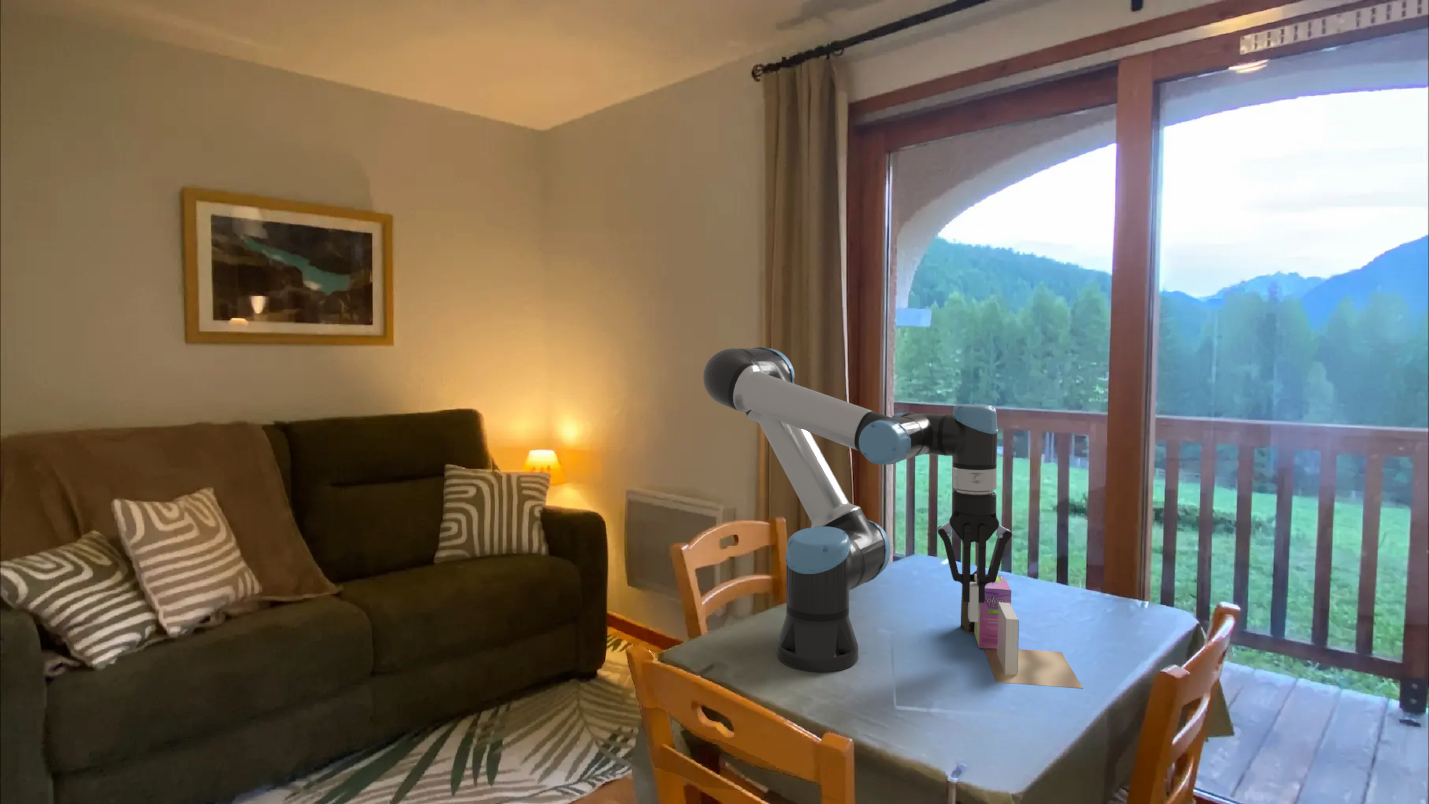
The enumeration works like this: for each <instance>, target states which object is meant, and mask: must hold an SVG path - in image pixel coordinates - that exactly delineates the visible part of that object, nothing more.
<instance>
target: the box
mask: <svg viewBox="0 0 1429 804" xmlns="http://www.w3.org/2000/svg"><path fill="white" fill-rule="evenodd" d="M985 575H986V574H985ZM974 580H975V582H977V574H974ZM998 602H1003V603H1010V604H1011V605H1012V590H1011V588H1010V586H1009V584H1008V581H1007V580H1006V578H1005V576H1004V575H1000V574H997V578H996V581H995V582H994V583H988V584H986V586H985V601H984V603H978V622H975V625H974V636H975V640H976V643H977V646H978V648H979V649H994V650H997V645H998Z"/></svg>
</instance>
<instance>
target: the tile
mask: <svg viewBox="0 0 1429 804" xmlns="http://www.w3.org/2000/svg"><path fill="white" fill-rule="evenodd" d="M1019 626H1020V621H1019V618H1018V617H1017V614H1016V611H1015V609H1013V607H1012V603H1011V604H1010V603H1003V602H998V645H997V655H998V658H999V660H1000V663H1001V665H1002V668H1003V670H1004V673H1005V674H1006V675H1017V673H1018V649H1019V637H1020V636H1019V634H1020V627H1019Z"/></svg>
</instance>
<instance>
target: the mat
mask: <svg viewBox="0 0 1429 804" xmlns="http://www.w3.org/2000/svg"><path fill="white" fill-rule="evenodd" d="M984 653H985V655H986V657H987V658H986V659H987V661H988V663H989V667H990V669H991V672H992V675H993V677H994V680H995V683H1001V684H1016V685H1017V684H1018V685H1028V686H1043V687H1056V688H1071V689H1084V687H1083V685H1082V684H1081V682H1080V680H1079V679H1078V677H1077V675H1076V673H1075V672H1074V670H1073V669H1072V667H1071V665H1070V664H1069V662H1068V660H1067V658H1066V657H1065V655H1064V654H1063V652H1062V651H1052V650H1051V651H1050V650H1038V649H1036V650H1035V649H1023V648H1021V649H1020V648H1018V673H1017V675H1006V674H1005V673H1004V670H1003V668H1002V665H1001V663H1000V660H999V658H998V655H997V650H994V649H984Z"/></svg>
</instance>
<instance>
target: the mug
mask: <svg viewBox="0 0 1429 804" xmlns="http://www.w3.org/2000/svg"><path fill="white" fill-rule="evenodd" d="M986 573H987V572H986V570H985V574H986ZM974 574H977V569H976V570H975V571H974V572H973V573H970V582H975V580H974ZM960 602H961V604H960V608H961V609H960V629H961V630H962V631H963V632H965V633H968V634H974V625H975V622H970V621H969V618H968V602H964V601H963V598H962V597H961V601H960ZM974 635H975V634H974Z"/></svg>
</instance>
